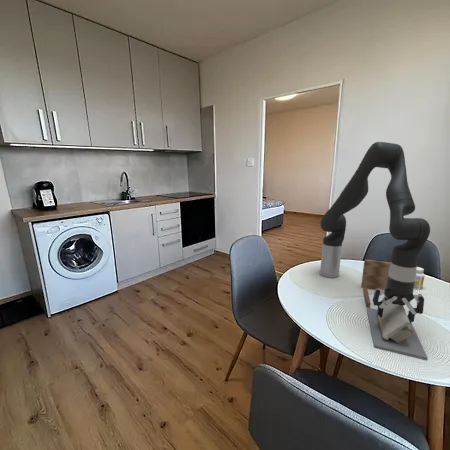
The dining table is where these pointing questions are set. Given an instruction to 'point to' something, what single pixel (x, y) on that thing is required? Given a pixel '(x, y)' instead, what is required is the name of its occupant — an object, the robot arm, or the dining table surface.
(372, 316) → the charcoal pad
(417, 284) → the supplement bottle
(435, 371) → the dining table surface
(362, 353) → the dining table surface
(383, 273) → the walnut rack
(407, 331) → the packaged product
